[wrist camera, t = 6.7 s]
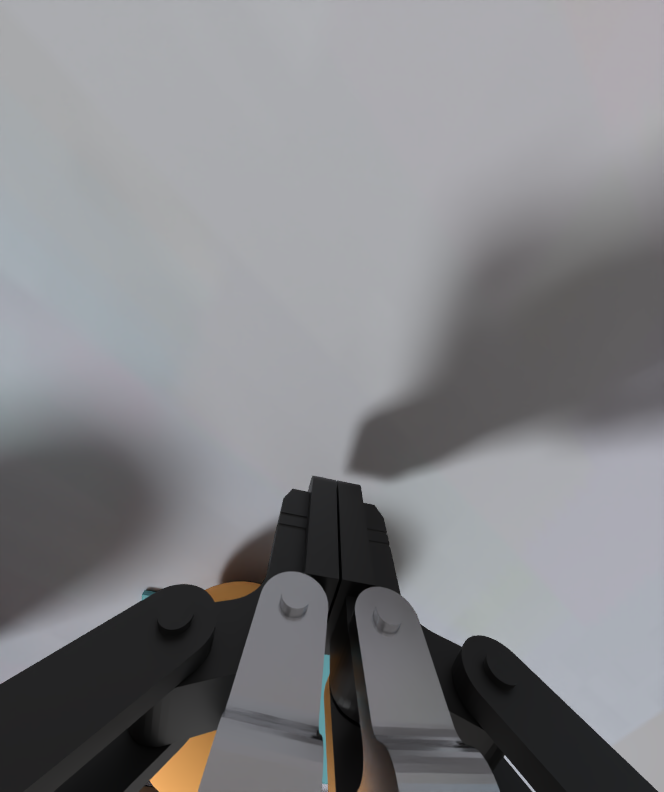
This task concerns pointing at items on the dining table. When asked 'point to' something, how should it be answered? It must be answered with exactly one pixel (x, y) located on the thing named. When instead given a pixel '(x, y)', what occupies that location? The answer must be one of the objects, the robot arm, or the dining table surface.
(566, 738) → the robot arm
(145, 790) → the strip
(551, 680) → the dining table surface
